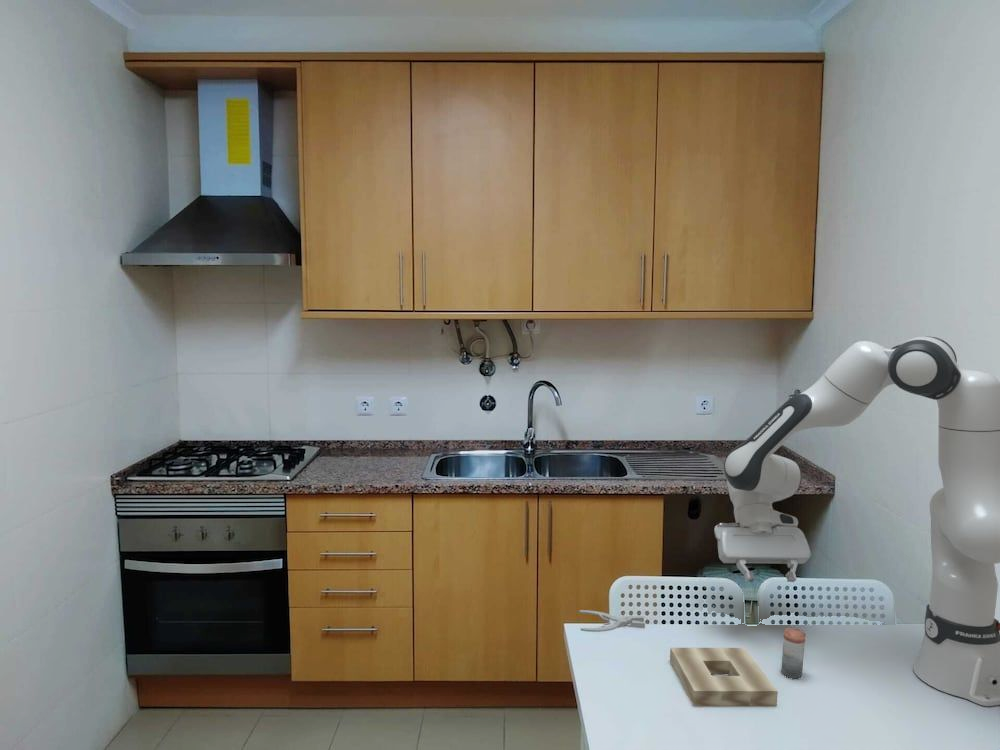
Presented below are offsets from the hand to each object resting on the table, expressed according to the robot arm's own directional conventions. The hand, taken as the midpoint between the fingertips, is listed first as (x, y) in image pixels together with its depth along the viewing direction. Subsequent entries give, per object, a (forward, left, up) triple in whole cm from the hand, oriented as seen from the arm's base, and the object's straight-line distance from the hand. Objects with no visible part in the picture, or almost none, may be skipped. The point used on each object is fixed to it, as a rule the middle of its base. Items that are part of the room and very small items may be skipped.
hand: (771, 580), depth 153 cm
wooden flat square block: (+16, +15, -15) cm, 27 cm away
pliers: (+33, -10, -15) cm, 38 cm away
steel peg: (0, +12, -15) cm, 19 cm away
